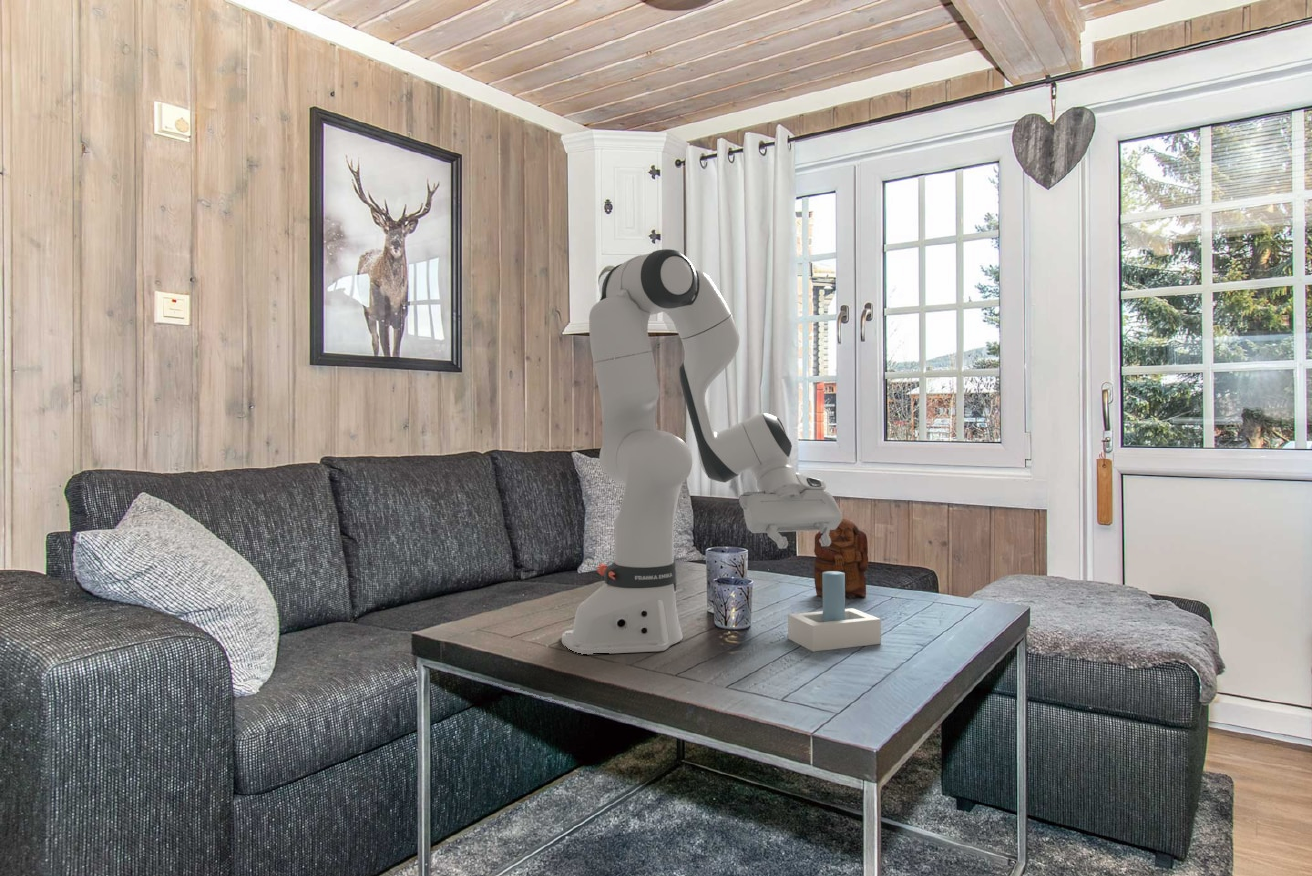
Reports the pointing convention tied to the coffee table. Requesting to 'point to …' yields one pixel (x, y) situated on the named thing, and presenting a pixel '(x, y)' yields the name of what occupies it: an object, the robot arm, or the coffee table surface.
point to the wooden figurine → (843, 558)
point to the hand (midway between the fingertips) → (805, 545)
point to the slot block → (834, 630)
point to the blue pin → (833, 596)
